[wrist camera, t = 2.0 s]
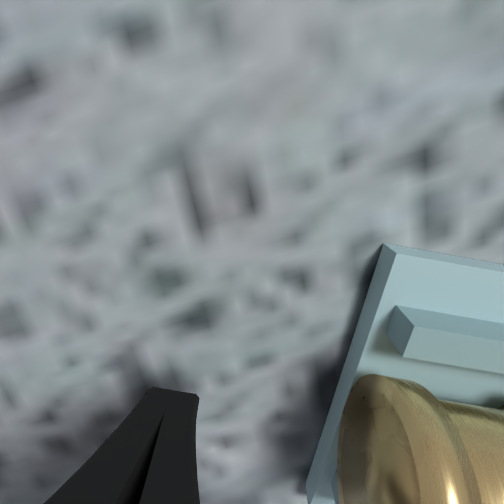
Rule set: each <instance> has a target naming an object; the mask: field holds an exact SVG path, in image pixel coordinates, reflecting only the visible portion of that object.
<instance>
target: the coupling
mask: <svg viewBox="0 0 504 504" xmlns="http://www.w3.org/2000/svg"><path fill="white" fill-rule="evenodd" d="M337 484H338V498H339V504H504V406H503V407H501V408H500V409H494V408H488V407H482V406H476V405H470V404H464V403H457V402H451V401H445V400H439V399H437V398H436V397H435V396H434V395H433V394H432V393H431V392H430V391H429V390H427V389H426V388H425V387H423V386H422V385H421V384H418V383H416V382H414V381H411V380H407V379H401V378H395V377H389V376H383V375H377V374H368V375H365V376H363V377H361V378H360V379H359V380H358V381H357V382H356V383H355V384H354V386H353V387H352V389H351V391H350V393H349V395H348V397H347V400H346V403H345V406H344V409H343V413H342V418H341V423H340V429H339V437H338V449H337Z"/></svg>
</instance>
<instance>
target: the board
mask: <svg viewBox="0 0 504 504" xmlns="http://www.w3.org/2000/svg"><path fill="white" fill-rule="evenodd" d="M368 374H377V375H383V376H389V377H395V378H401V379H407V380H411V381H414V382H416V383H418V384H421V385H422V386H423V387H425V388H426V389H427V390H429V391H430V392H431V393H432V394H433V395H434V396H435V397H436V398H437V399H439V400H445V401H451V402H457V403H464V404H470V405H476V406H482V407H488V408H494V409H500V408H501V407H503V406H504V265H502V264H496V263H490V262H485V261H479V260H474V259H468V258H462V257H457V256H451V255H446V254H440V253H435V252H429V251H423V250H418V249H412V248H407V247H401V246H395V245H390V244H383V247H382V250H381V253H380V256H379V259H378V262H377V265H376V268H375V271H374V274H373V277H372V280H371V284H370V287H369V290H368V293H367V296H366V299H365V302H364V305H363V308H362V311H361V314H360V317H359V320H358V323H357V327H356V330H355V333H354V336H353V339H352V342H351V345H350V348H349V351H348V354H347V357H346V360H345V363H344V367H343V370H342V373H341V376H340V379H339V382H338V385H337V388H336V391H335V394H334V397H333V400H332V403H331V406H330V410H329V413H328V416H327V419H326V422H325V425H324V428H323V431H322V434H321V437H320V440H319V443H318V446H317V450H316V453H315V456H314V459H313V462H312V465H311V468H310V471H309V474H308V477H307V480H306V483H305V486H306V493H307V500H308V504H339V498H338V484H337V449H338V437H339V429H340V423H341V418H342V413H343V409H344V406H345V403H346V400H347V397H348V395H349V393H350V391H351V389H352V387H353V386H354V384H355V383H356V382H357V381H358V380H359V379H360V378H361V377H363V376H365V375H368Z"/></svg>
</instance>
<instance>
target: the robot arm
mask: <svg viewBox="0 0 504 504" xmlns="http://www.w3.org/2000/svg"><path fill="white" fill-rule="evenodd" d="M198 404H199V397H198V396H197V395H196V394H192V393H186V392H180V391H173V390H167V389H161V388H155V387H153V388H151V389H149V390H148V391H147V393H146V394H145V395H144V397H143V398H142V399H141V401H140V402H139V403H138V404H137V406H136V407H135V408H134V409H133V411H132V412H131V413H130V414H129V415H128V416H127V418H126V419H125V420H124V421H123V422H122V423H121V425H120V426H119V427H118V428H117V429H116V430H115V431H114V432H113V434H112V435H111V436H110V437H109V438H108V439H107V440H106V441H105V442H104V443H103V444H102V446H101V447H100V448H99V449H98V450H97V451H96V452H95V453H94V454H93V455H92V456H91V457H90V458H89V459H88V460H87V462H86V463H85V464H84V465H83V466H82V467H81V468H80V469H79V470H78V471H77V472H76V473H75V474H74V475H73V476H72V477H71V478H70V479H69V480H68V481H67V482H66V483H64V484H63V485H62V486H61V487H60V488H59V489H58V490H57V491H56V492H55V493H54V494H53V495H52V496H51V497H50V498H49V499H48V500H47V501H46V502H45V503H44V504H200V500H199V491H198V480H197V464H196V417H197V410H198Z"/></svg>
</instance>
